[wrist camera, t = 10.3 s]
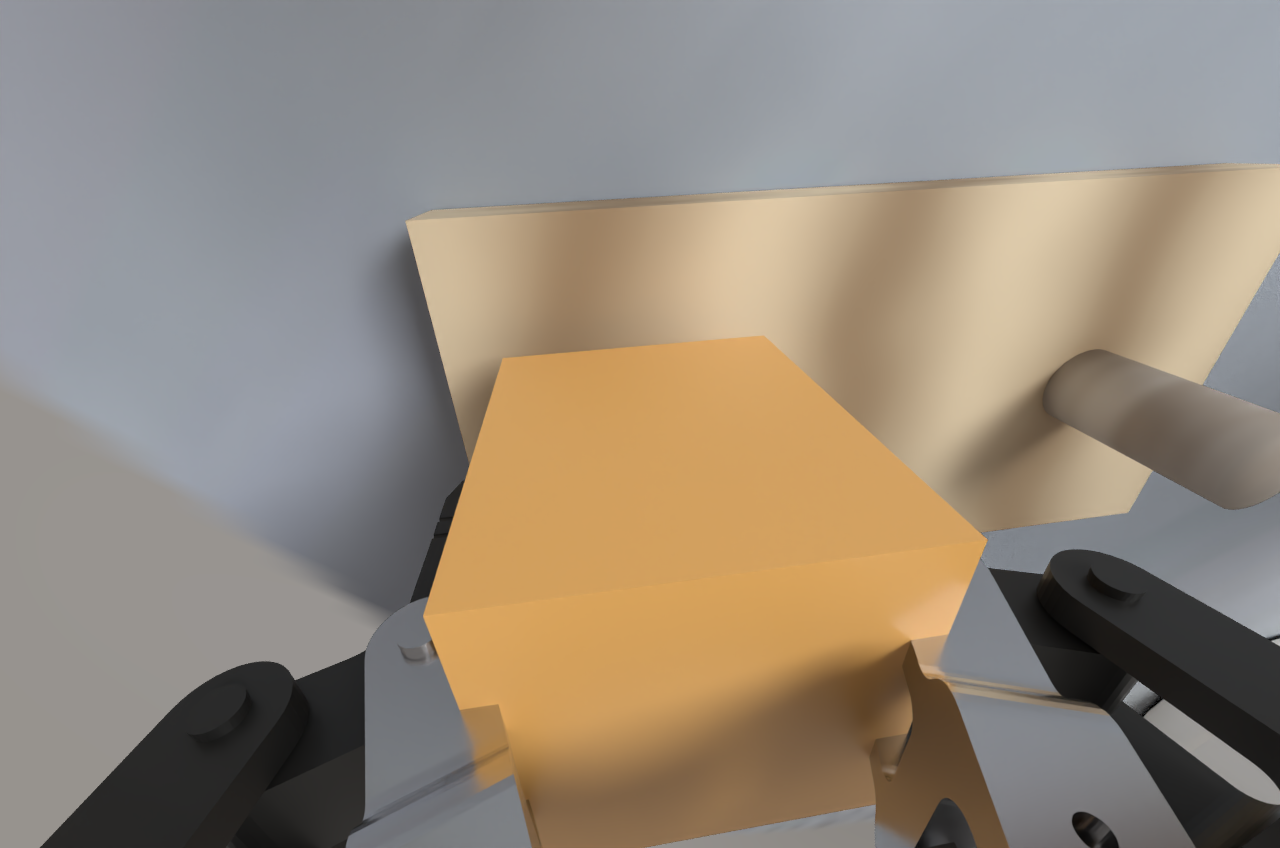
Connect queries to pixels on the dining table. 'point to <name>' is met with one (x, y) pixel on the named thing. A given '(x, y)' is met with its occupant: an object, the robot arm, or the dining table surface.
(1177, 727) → the bottle
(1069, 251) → the wooden peg rack
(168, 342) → the dining table surface
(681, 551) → the wooden toy cube
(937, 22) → the dining table surface
